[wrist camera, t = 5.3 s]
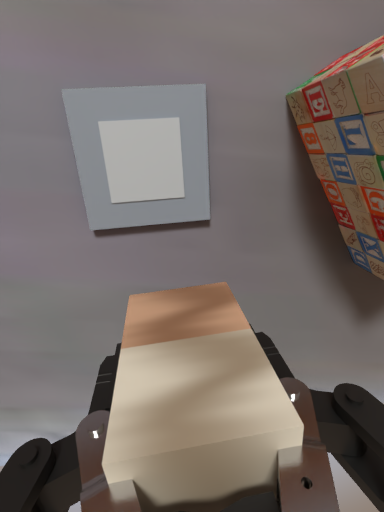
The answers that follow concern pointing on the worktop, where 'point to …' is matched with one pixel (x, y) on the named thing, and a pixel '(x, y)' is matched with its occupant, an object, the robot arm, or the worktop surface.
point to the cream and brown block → (195, 404)
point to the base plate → (141, 153)
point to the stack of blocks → (349, 146)
